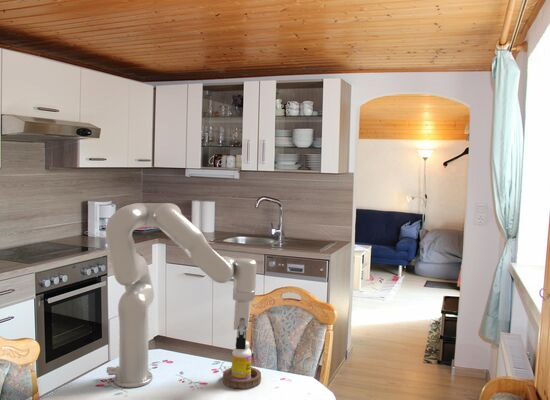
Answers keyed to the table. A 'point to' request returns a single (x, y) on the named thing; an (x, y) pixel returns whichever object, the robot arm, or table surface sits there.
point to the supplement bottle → (241, 363)
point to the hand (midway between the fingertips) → (240, 343)
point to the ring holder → (242, 384)
